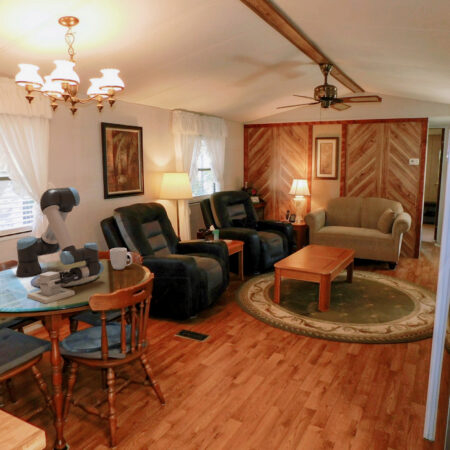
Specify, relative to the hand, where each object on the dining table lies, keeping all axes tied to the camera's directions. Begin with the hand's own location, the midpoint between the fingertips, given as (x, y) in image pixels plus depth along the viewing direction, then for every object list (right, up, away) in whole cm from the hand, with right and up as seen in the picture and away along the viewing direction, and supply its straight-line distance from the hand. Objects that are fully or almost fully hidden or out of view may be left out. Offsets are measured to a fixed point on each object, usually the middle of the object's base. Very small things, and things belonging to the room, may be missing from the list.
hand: (42, 282), depth 222 cm
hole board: (+3, -8, +5) cm, 10 cm away
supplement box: (+3, -8, +5) cm, 10 cm away
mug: (+26, +1, +60) cm, 65 cm away
